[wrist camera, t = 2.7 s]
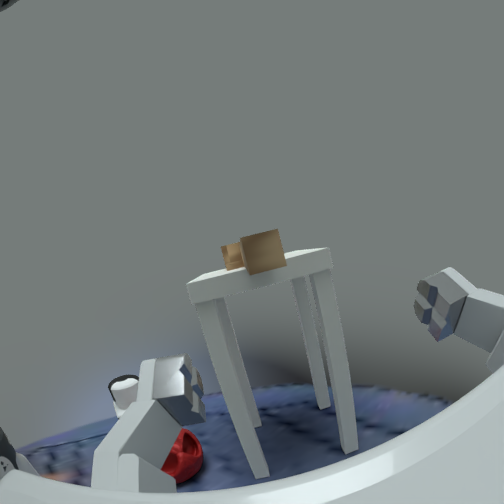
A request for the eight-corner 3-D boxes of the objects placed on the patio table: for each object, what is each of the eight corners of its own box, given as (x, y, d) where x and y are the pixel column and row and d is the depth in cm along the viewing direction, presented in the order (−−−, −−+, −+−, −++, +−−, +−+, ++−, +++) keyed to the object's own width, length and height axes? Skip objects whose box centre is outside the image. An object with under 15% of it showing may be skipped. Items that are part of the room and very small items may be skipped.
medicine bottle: (127, 431, 41) (102, 378, 41) (159, 420, 45) (137, 368, 45) (134, 449, 35) (105, 391, 35) (170, 436, 39) (144, 378, 39)
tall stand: (253, 481, 26) (185, 284, 26) (248, 422, 41) (204, 273, 41) (361, 449, 26) (328, 247, 26) (328, 399, 41) (296, 250, 41)
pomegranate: (135, 470, 29) (108, 424, 29) (184, 443, 37) (163, 398, 37) (168, 501, 23) (136, 452, 23) (223, 464, 30) (202, 416, 30)
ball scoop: (218, 283, 17) (207, 239, 17) (228, 268, 38) (223, 248, 38) (316, 257, 18) (305, 215, 18) (274, 256, 38) (269, 236, 38)
